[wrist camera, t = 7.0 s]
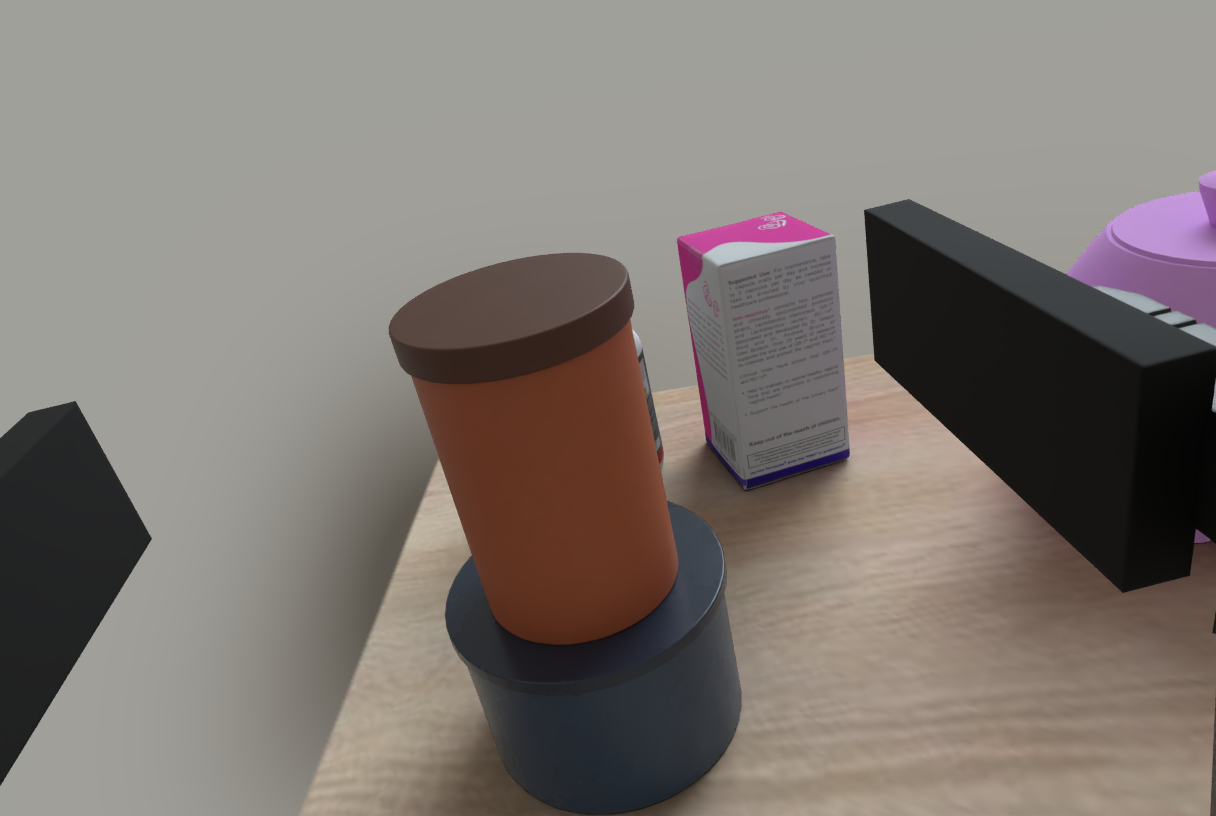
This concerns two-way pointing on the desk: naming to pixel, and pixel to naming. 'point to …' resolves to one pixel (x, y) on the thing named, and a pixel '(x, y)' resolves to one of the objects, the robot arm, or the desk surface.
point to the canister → (545, 441)
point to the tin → (611, 689)
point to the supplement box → (767, 345)
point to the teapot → (1161, 255)
